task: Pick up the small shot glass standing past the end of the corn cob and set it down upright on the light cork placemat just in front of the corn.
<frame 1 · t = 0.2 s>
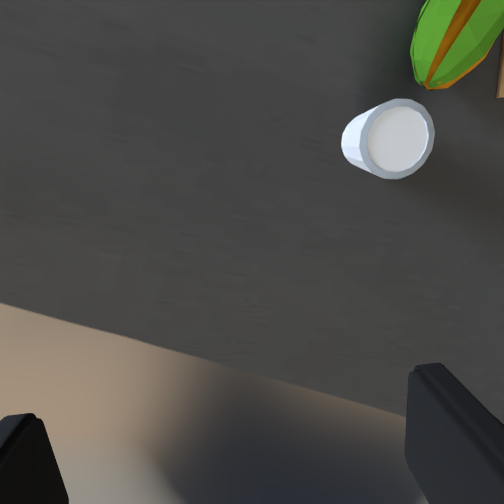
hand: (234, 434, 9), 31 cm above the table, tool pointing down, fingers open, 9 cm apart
shot glass: (366, 141, 37), on the table
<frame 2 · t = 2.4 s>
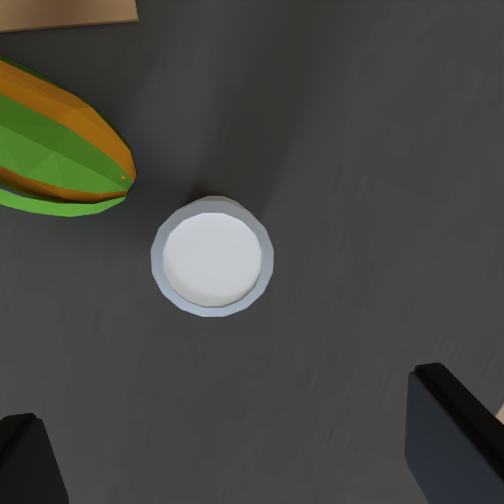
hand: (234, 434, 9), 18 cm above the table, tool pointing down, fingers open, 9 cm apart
shot glass: (215, 232, 26), on the table
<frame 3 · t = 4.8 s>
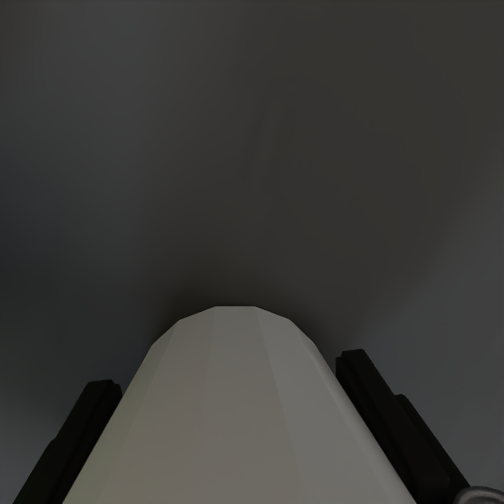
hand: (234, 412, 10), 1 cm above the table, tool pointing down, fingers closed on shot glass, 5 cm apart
shot glass: (233, 385, 11), on the table, touching gripper
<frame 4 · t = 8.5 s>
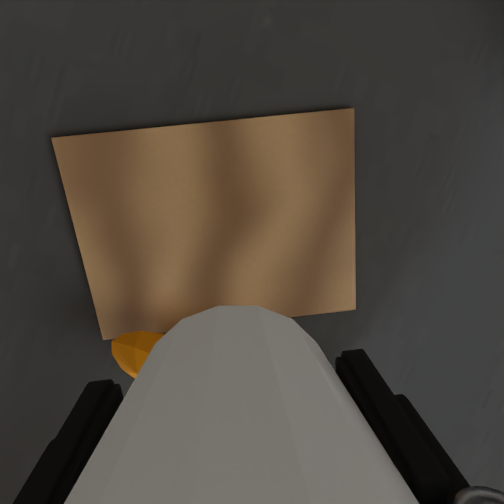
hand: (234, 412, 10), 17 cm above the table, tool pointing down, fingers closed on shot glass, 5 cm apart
shot glass: (236, 384, 11), point 16 cm above the table, touching gripper
placemat: (219, 231, 25), on the table
corn: (237, 368, 29), on the table
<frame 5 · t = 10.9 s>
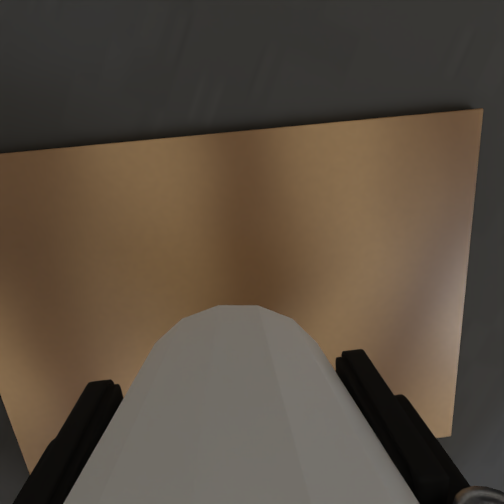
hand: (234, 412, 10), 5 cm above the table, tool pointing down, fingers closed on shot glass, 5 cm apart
shot glass: (236, 384, 11), point 4 cm above the table, touching gripper
placemat: (231, 319, 15), on the table
when the fingers open (1 cm above the table, at t = 12.4 s): shot glass stays where it is, resting on placemat.
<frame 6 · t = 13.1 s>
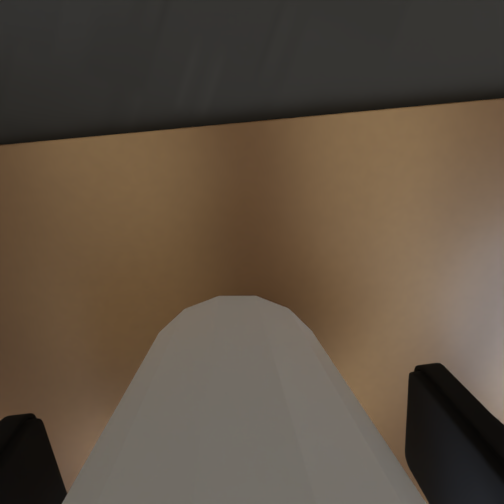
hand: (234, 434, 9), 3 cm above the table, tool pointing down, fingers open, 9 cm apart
shot glass: (235, 371, 11), resting on placemat
placemat: (234, 366, 11), on the table
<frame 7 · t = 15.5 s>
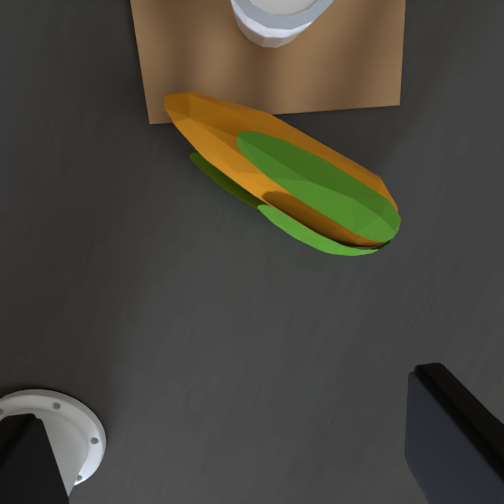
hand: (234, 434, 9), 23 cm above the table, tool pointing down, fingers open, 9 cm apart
shot glass: (270, 5, 25), resting on placemat
placemat: (269, 5, 25), on the table
corn: (277, 171, 29), on the table
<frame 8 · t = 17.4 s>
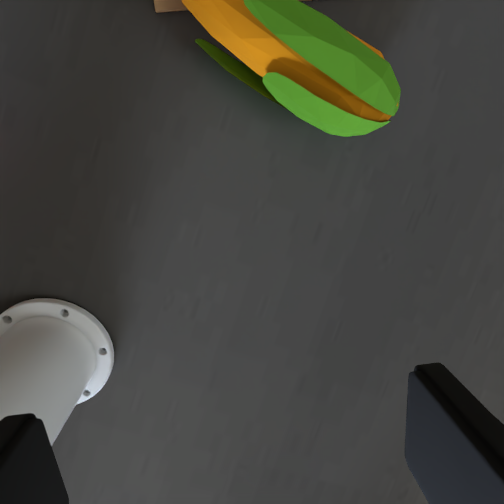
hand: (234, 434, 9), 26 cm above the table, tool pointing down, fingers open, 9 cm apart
corn: (279, 63, 30), on the table
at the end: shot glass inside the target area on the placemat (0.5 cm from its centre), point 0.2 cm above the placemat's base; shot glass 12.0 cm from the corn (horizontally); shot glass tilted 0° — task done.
